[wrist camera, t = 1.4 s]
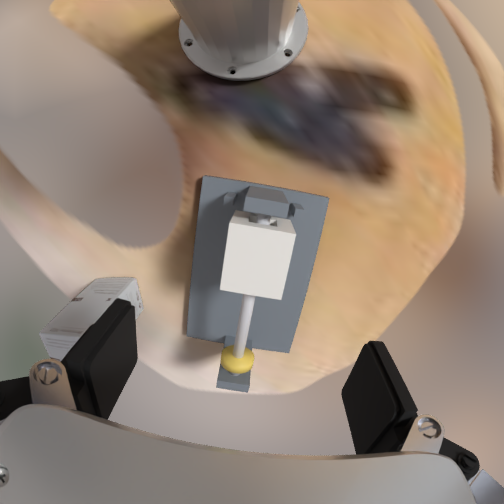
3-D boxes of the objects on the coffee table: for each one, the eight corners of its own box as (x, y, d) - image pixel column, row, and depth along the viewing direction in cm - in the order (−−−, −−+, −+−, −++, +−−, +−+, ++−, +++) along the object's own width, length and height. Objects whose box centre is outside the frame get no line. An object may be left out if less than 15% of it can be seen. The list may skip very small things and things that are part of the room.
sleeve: (235, 210, 24) (229, 222, 19) (290, 219, 24) (296, 234, 19) (226, 266, 25) (219, 289, 21) (278, 275, 25) (281, 300, 21)
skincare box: (136, 275, 31) (82, 334, 20) (145, 310, 33) (101, 376, 21) (94, 277, 32) (35, 329, 20) (103, 310, 33) (53, 368, 21)
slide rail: (205, 175, 27) (181, 183, 19) (327, 196, 28) (352, 214, 20) (188, 331, 33) (169, 379, 25) (288, 348, 33) (293, 399, 25)
